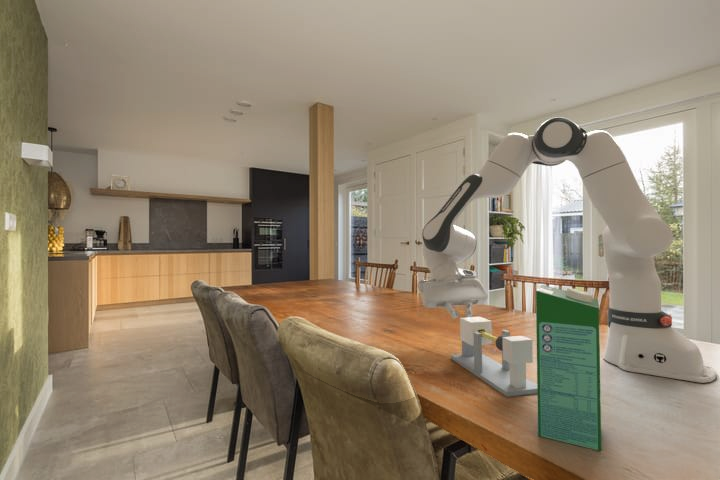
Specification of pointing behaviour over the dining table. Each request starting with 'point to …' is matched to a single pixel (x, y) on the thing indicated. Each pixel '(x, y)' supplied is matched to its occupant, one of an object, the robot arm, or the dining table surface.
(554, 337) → the milk carton
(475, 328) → the sleeve
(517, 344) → the bearing mount fixture
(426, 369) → the dining table surface
